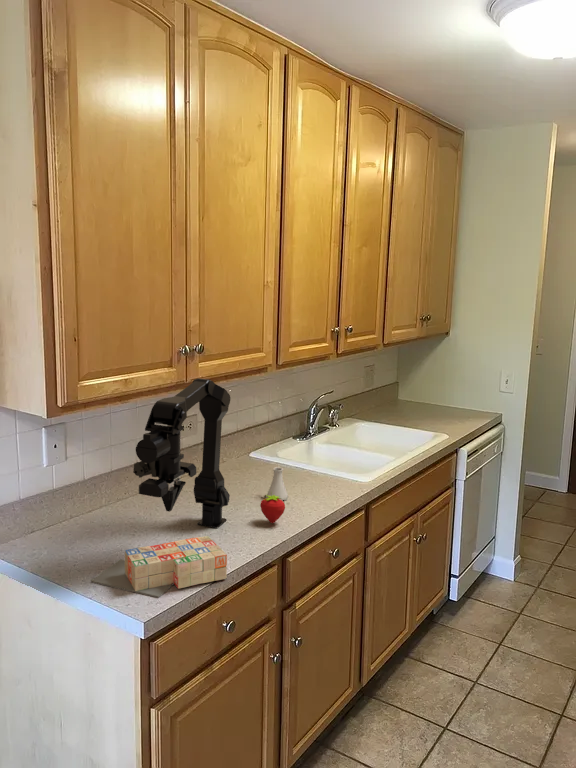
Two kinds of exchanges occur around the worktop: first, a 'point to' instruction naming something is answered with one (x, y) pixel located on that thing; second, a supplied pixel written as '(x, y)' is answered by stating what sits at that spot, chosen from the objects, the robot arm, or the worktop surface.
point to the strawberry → (272, 508)
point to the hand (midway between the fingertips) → (168, 510)
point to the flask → (278, 485)
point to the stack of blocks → (176, 564)
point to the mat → (125, 580)
